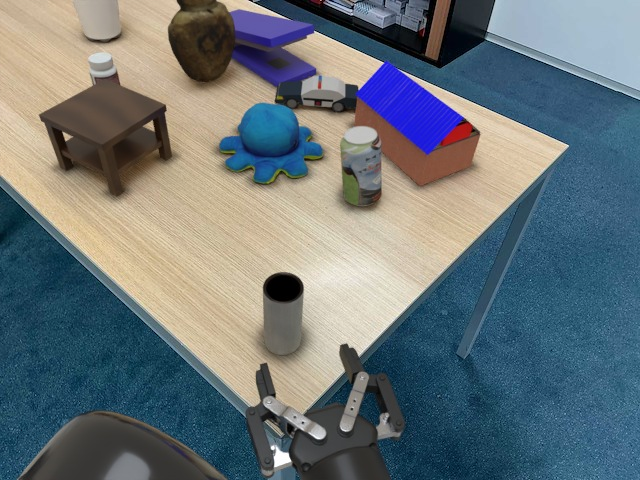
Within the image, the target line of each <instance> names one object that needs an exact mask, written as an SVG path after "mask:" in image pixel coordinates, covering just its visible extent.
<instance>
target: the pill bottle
mask: <svg viewBox="0 0 640 480" xmlns="http://www.w3.org/2000/svg"><path fill="white" fill-rule="evenodd" d="M87 60H88V64H89V69H88V74H89V76H90V79H91V84H92V86H93V85H95V84H97V83H99V82H100V81H102V80H104V79H106V80H109V81H111V82H113V83H116V84H118V85H121V81H120V76H119V72H118V67H117V66H116V64H114V59H113V56H112V54H110V53H108V52H103V51H102V52H95V53H92V54H91V55H89V56H88V58H87Z"/></svg>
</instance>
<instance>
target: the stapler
mask: <svg viewBox="0 0 640 480" xmlns="http://www.w3.org/2000/svg"><path fill="white" fill-rule="evenodd" d="M229 13H230V14H231V15H232V18H233V21H234V26H235V45H234V50H233V54H232V58H231V59H233V60H234V61H236V62H237V63H239V64H241V65H242V66H243V67H245V68H246V69H248V70H250V71H251V72H252V73H254V74H255V75H258V76H259V77H260V78H262V79H263V80H265V81H267V82H268V83H270V84H271V85H273V86H274V87H276V88H277V86H279V84H280V82H288V81H304V80H306V79H309V78H311V77H313V76H316V75H317V70H318V69H317V67H315V66H313V65H312V64H311V63H308V62H307V61H305V60H304V59H301V58H300V57H299V56H297V55H295V54H294V53H292V52H291V51H288V50H286V49H285V48H283V47H286V46H290V45H292V44H295V43H298V42H301V41H303V40H306V39H308V36H310V35H314V34H315V25H314V24H312V23H307V22H303V21H298V20H292V19H287V18H283V17H279V16H274V15H269V14H265V13H259V12H254V11H251V10H245V9H240V8H237V9H234V10H232V11H229Z"/></svg>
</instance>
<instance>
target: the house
mask: <svg viewBox="0 0 640 480" xmlns="http://www.w3.org/2000/svg"><path fill="white" fill-rule="evenodd" d="M358 90H359V91H358V92H357V93H356V94H355V95H357V96H358V97H357V105H356V108H355V115H354V123H353V127H357V126H367V127H371V128H373V129H374V130H376V132H377V135H378V136H379V137H380V139H381V153H383V154H384V155H385V156H386V157H387V158H388V159H389V160H390V161H391V162H392V163H394V164H395V165H396V166H397V167H398V168H399V169H400V170H401V171H402V172H404V174H406V175H407V176H408V177H409V178H410V179H412V181H414V183H416V184H417V185H418V186H419V187H422V186H424V185H427V184H429V183H432V182H434V181H437V180H440V179H442V178H444V177H446V176H449V175H452V174H454V173H458V172H460V171H463V170H464V169H468V168H470V167H471V166H472V163H473V159H474V156H475V153H476V150H477V147H478V144H479V141H480V137H481V135H482V133H481V131H480V130H479V129H478V128H477V127H475V125H473V123H471V122H470V121H469V120H468V119H466V118H465V117H464V116H463V115H461V114H460V113H459V112H457V111H456V110H455V109H454V108H452V107H451V106H449V105H448V104H447V103H445V102H444V101H442V100H441V99H440V98H438V97H437V96H435V95H434V94H433V93H432V92H430V91H428V90H427V89H426V88H425V87H423V86H422V85H421V84H419V83H418V82H416V81H415V80H413V79H412V78H411V77H409V76H408V75H407V74H406V73H404V72H402V71H401V70H400V69H399V68H397V67H396V66H394V65H393V64H392V63H390V61H388V60H385V61H384V62H383V63H382V64H381V66H380V67H379V68H378V69H377V70H376V71H375V72H374V73H373V74H372V75H371V76H370V77H369V78H368V79H367V80H366V82H365V83H364V84H363V85H362V86H361V87H360V88H359V89H358Z"/></svg>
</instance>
